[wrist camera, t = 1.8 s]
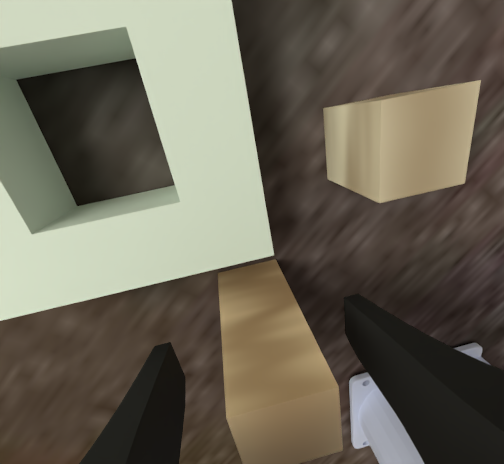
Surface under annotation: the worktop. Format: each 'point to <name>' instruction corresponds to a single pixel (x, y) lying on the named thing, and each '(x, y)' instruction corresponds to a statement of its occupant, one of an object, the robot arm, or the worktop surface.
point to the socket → (173, 140)
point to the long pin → (274, 371)
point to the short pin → (402, 141)
